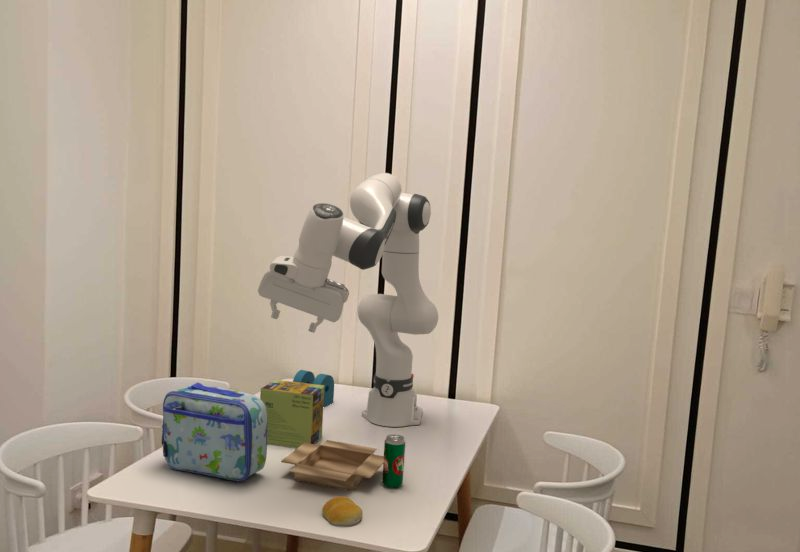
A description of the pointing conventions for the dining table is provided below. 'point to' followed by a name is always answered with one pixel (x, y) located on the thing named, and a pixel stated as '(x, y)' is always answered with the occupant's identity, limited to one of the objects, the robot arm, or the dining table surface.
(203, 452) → the lunch box
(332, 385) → the camera mount
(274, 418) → the protein box
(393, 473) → the soda can
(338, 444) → the carton
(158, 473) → the dining table surface
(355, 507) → the bread roll
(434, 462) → the dining table surface
